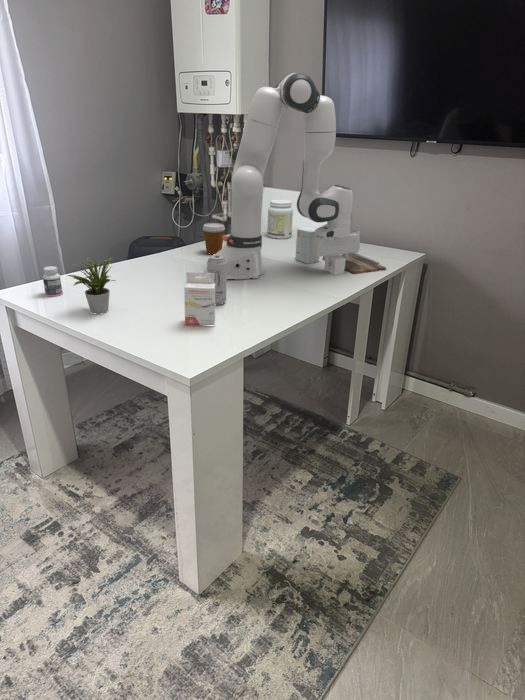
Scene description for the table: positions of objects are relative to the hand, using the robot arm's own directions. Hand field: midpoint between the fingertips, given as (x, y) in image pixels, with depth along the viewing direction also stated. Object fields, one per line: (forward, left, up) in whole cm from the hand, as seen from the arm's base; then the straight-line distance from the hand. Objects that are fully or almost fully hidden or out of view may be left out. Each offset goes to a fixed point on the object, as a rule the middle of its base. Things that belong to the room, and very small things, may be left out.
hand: (334, 265), depth 197 cm
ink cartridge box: (-67, -29, -3) cm, 73 cm away
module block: (0, 0, -2) cm, 2 cm away
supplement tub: (+8, +59, -3) cm, 60 cm away
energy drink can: (-56, -15, -2) cm, 58 cm away
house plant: (-91, -7, -2) cm, 91 cm away
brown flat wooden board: (+13, +5, -2) cm, 14 cm away
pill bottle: (-102, +12, -3) cm, 103 cm away
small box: (-2, +17, -3) cm, 17 cm away
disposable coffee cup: (-34, +41, -2) cm, 53 cm away
